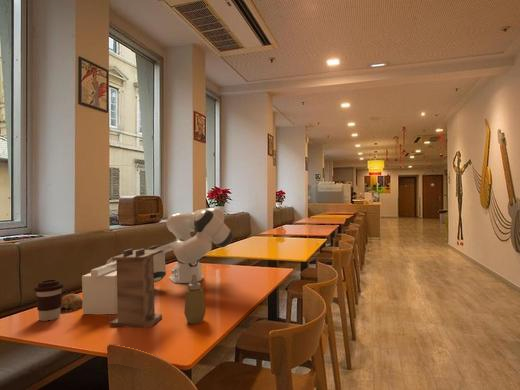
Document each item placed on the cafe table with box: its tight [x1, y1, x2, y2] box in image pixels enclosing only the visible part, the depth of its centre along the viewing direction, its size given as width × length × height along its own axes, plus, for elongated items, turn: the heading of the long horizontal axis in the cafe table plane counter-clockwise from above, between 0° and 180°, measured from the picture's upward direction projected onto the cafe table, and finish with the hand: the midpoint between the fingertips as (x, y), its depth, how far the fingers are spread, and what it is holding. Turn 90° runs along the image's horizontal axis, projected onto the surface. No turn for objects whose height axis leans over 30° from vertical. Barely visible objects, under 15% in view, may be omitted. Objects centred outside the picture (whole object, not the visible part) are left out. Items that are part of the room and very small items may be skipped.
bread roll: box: [60, 293, 83, 312], centre depth 153 cm, size 10×10×8 cm
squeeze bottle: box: [183, 274, 207, 325], centre depth 132 cm, size 8×8×18 cm
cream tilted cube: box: [81, 270, 118, 315], centre depth 152 cm, size 18×14×16 cm
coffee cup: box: [33, 279, 64, 322], centre depth 140 cm, size 10×10×15 cm
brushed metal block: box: [90, 261, 117, 277], centre depth 153 cm, size 26×3×3 cm, turn 174°
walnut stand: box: [109, 248, 163, 328], centre depth 136 cm, size 18×16×28 cm
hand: (121, 259), depth 162 cm, fingers open, 8 cm apart
